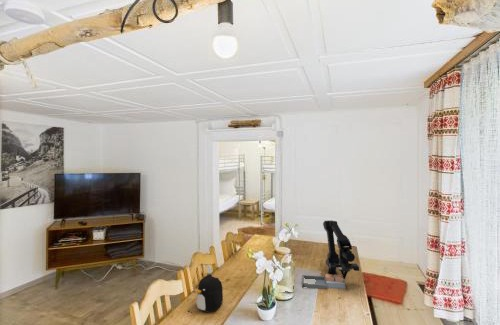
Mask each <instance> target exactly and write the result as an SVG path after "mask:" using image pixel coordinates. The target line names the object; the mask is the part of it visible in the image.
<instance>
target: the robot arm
mask: <svg viewBox="0 0 500 325" xmlns="http://www.w3.org/2000/svg"><path fill="white" fill-rule="evenodd" d="M322 226H323V229H324V230H325V231H326V237H327V245H328V254H327V258H326V260H325V264H326V266H327V267H328V269H327V274H333V276H334V275H339V274H338V271H339V272H340V273H341V275H342V277H343V279H344V280H345V279H346V277H347V274H348V273H349V272H351V270H353V272H354V271H355V272H359V271H360V267H359V265H358V263H355V262H354V261H355V258H356V256H355V254H354V253H353V251H352V250H353V248H352V247H353V246H352V243H351V241H350V239H349V237H348V236H347V235H346V234H344V233H343V231H342V230H341V228H340V227H339V224H338V222H337V221H336V220H332V219H331V220H324V221H323V223H322ZM334 234H335V235H334ZM335 237H336V244H337V246H338V254H337V252H336V245H335ZM353 262H354V263H353ZM337 270H338V271H337Z"/></svg>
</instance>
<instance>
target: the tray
mask: <svg viewBox="0 0 500 325" xmlns="http://www.w3.org/2000/svg"><path fill="white" fill-rule="evenodd" d="M304 278H305V279H315V280H316V282H315V284H308V283H304ZM301 280H302V282H301V283H302V284H303V285H302V284H301V285H302V288H303V287H307V288H306V289H315V288H317V289H318V290H319V289H320V290H328V288H327V285H326V282H325V275H310V274H308V275H307V274H302V275H301Z"/></svg>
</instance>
